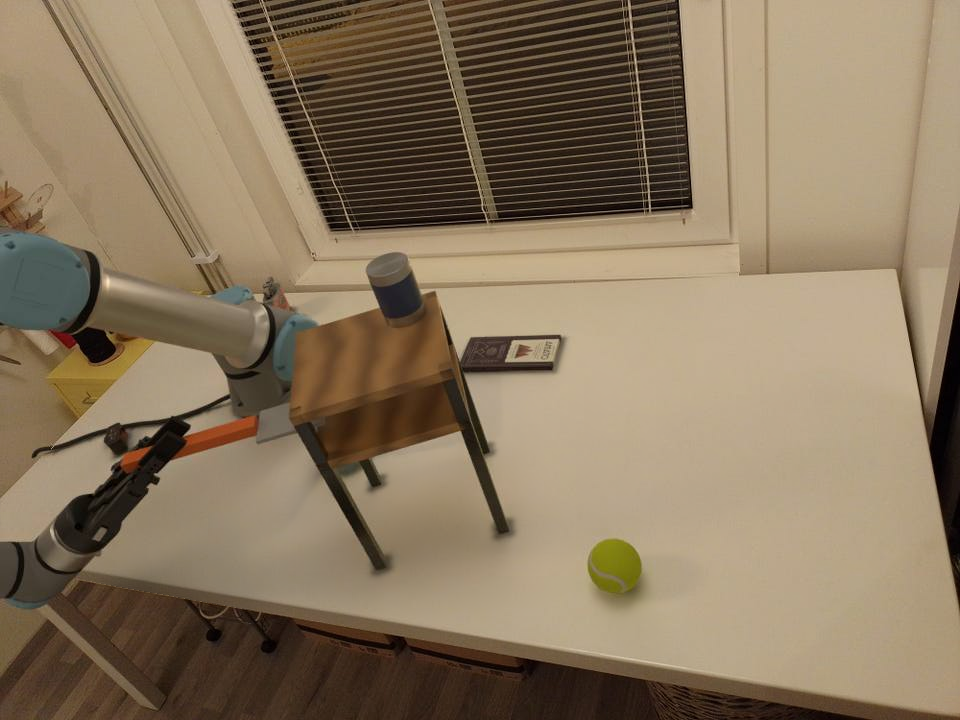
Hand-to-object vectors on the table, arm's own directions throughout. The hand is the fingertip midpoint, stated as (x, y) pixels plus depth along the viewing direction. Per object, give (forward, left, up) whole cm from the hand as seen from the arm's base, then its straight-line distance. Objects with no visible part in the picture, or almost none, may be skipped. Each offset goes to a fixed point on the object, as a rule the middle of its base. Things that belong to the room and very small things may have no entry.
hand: (178, 429), depth 89 cm
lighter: (-3, +71, -29) cm, 76 cm away
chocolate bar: (+44, +33, -29) cm, 62 cm away
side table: (+26, +2, -29) cm, 39 cm away
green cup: (+12, +19, -29) cm, 36 cm away
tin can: (+31, +7, +2) cm, 32 cm away
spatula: (+5, 0, -4) cm, 6 cm away
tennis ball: (+48, -19, -29) cm, 59 cm away
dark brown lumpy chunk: (-36, +42, -29) cm, 62 cm away
